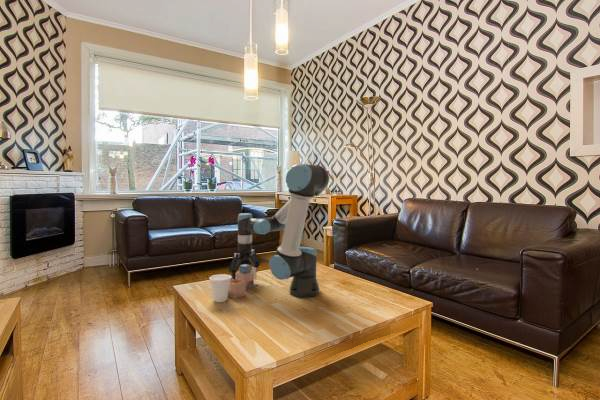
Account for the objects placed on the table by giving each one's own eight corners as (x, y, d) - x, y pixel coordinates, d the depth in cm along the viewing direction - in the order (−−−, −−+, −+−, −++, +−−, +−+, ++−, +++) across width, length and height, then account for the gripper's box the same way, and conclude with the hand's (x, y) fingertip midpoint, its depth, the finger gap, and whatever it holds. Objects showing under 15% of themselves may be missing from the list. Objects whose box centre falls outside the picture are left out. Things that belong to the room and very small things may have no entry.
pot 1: (245, 282, 175) (245, 269, 174) (253, 284, 171) (253, 271, 170) (236, 285, 170) (236, 272, 169) (244, 287, 166) (244, 274, 165)
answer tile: (245, 281, 177) (245, 280, 177) (258, 285, 171) (258, 284, 171) (231, 286, 169) (231, 285, 169) (244, 290, 163) (244, 289, 163)
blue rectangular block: (245, 278, 173) (245, 264, 172) (250, 280, 170) (250, 265, 170) (239, 280, 170) (239, 265, 169) (244, 281, 167) (244, 266, 167)
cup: (225, 305, 143) (225, 281, 143) (205, 303, 145) (205, 279, 145) (234, 297, 153) (234, 274, 152) (215, 295, 155) (215, 273, 154)
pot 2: (236, 292, 160) (236, 278, 160) (245, 295, 156) (245, 281, 156) (226, 295, 155) (226, 281, 155) (235, 298, 151) (235, 284, 151)
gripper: (256, 238, 181) (256, 275, 182) (221, 245, 161) (221, 286, 162) (266, 240, 176) (266, 277, 178) (231, 246, 157) (231, 289, 158)
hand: (244, 282), depth 170 cm, fingers open, 13 cm apart
